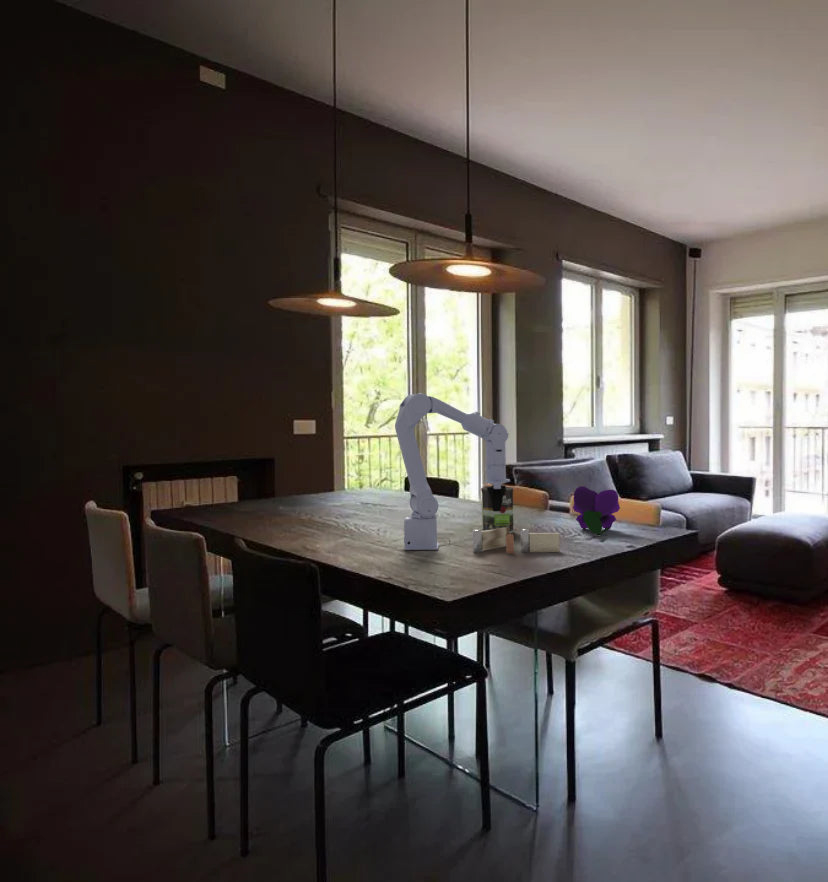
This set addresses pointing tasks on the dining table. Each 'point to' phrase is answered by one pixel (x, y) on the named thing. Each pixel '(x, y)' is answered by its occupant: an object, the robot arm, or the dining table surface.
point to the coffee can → (497, 517)
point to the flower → (595, 509)
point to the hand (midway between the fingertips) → (496, 510)
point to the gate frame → (524, 541)
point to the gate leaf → (494, 538)
